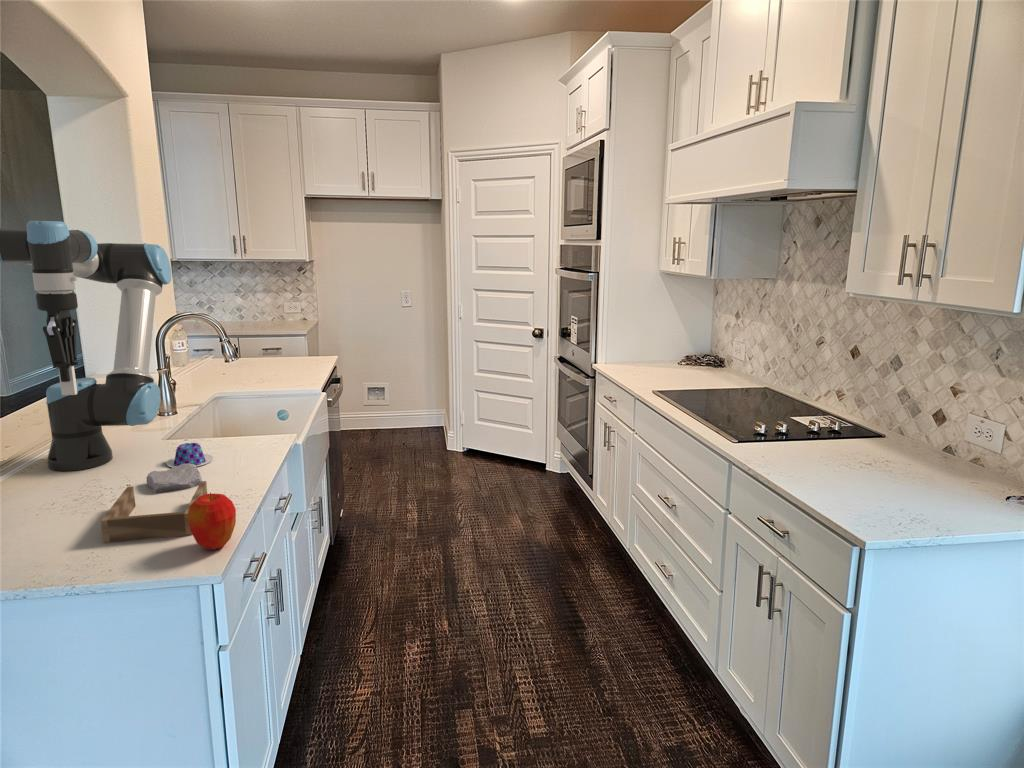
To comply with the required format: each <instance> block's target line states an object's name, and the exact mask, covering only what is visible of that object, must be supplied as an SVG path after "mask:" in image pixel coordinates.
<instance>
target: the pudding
mask: <svg viewBox="0 0 1024 768" xmlns="http://www.w3.org/2000/svg"><path fill="white" fill-rule="evenodd" d="M175 450H176V451H175V455H174V457H171V458H170V459H168V460H167V461H166V462H165V464H166V466H167V467H169V468H170V467H171V468H173V467H175V466H179V465H182V464H187V463H189V464H194V465H196V468H197V467H201V466H204V465H206V464H208V463H210V462H212V461H213V460H214V457H213V455H211V454H208V453H204V452H203V449H202V447H201V445H200V443H197V442H186V443H185V442H184V443H183V444H182V443H181V444H179V445H178V446H177V447H176V449H175Z"/></svg>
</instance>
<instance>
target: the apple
mask: <svg viewBox="0 0 1024 768" xmlns="http://www.w3.org/2000/svg"><path fill="white" fill-rule="evenodd" d="M236 511H237V509H236V506H235V504H234V502H233V501H232V499H230V498H229V497H228V496H227V495H225V494H222V493H216V492H215V493H212V492H209V493H207V494H205V495H202V496H200V497H199V498H197V499H196V500H195V501H194V502H193V503H192V504H191V505H190V508H189V512H188V516H187V519H188V523H189V527H190V531H191V533H192V535H191V536H192V537H193V539H194V540H195V542H196V544H197V545H198V546H200V547H202V548H204V549H207V550H219V549H220V550H221V549H222V548H223V547H224V546H226V544H227V543H228V542H229V541H230V540H231V538H232V536H233V533H234V530H235V527H236V522H237V519H236V518H237V517H236V516H237V515H236V513H237V512H236Z"/></svg>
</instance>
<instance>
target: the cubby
mask: <svg viewBox="0 0 1024 768" xmlns="http://www.w3.org/2000/svg"><path fill="white" fill-rule="evenodd" d="M205 494H208V485H207V480H202V481H201V482H200V484H199V486H197V489H195V492H194V494H193V496H192V498H191V500H190V501H189V504H188V505H187V508H186V509H185V511H180V512H179V511H177V512H165V513H154V514H142V515H141V514H140V515H131V514H132V512H133V511H134V509H135V507H136V498H135V490H134V486H131V485H129V486H127V487H126V488H125V489H124V490H123V492H122V493H121V494H120V495H119V497H118V498H117V499H116V500H115V502H114V503H113V505H112V506H111V507H110V508H109V509H108V511H107V512H105V515H103V517H102V518H101V520H100V527H101V534H102V543H103V544H106V543H117V542H118V543H119V542H127V541H129V542H131V541H139V540H140V541H141V540H152V539H161V538H162V539H163V538H173V537H182V536H183V537H185V536H193V535H192V533H191V531H190V527H189V523H188V519H187V516H188V512H189V508H190V505H191V504H192V503H193V502H194V501H195V500H196V499H197V498H199V497H200V496H202V495H205Z"/></svg>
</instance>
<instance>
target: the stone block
mask: <svg viewBox="0 0 1024 768" xmlns="http://www.w3.org/2000/svg"><path fill="white" fill-rule="evenodd" d="M174 466H175V467H171V468H169V469H166V470H160V471H159V470H152V471H150V472H149V473H148V474H147V475H146V485H147V486H148V487H149V488H151V489H152V490H153V493H162V492H170V491H179V490H187V489H192V488H195V487H198V486H199V484H200V482H201V481H203V478H202V476H201V472H200V471H199V469H198V468H197V467H196V465H194V464H189V463H187V464H182V465H179V466H177V465H174Z"/></svg>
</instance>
